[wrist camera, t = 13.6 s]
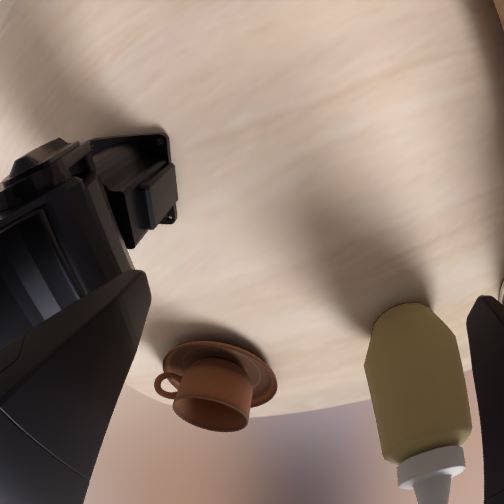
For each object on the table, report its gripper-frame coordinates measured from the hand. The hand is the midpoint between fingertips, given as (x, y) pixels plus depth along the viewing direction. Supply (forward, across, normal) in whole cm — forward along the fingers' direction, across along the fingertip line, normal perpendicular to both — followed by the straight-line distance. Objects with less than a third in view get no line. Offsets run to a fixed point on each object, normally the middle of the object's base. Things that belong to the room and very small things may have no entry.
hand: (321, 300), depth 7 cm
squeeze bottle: (+13, -10, +14) cm, 22 cm away
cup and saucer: (+13, +7, +22) cm, 27 cm away
